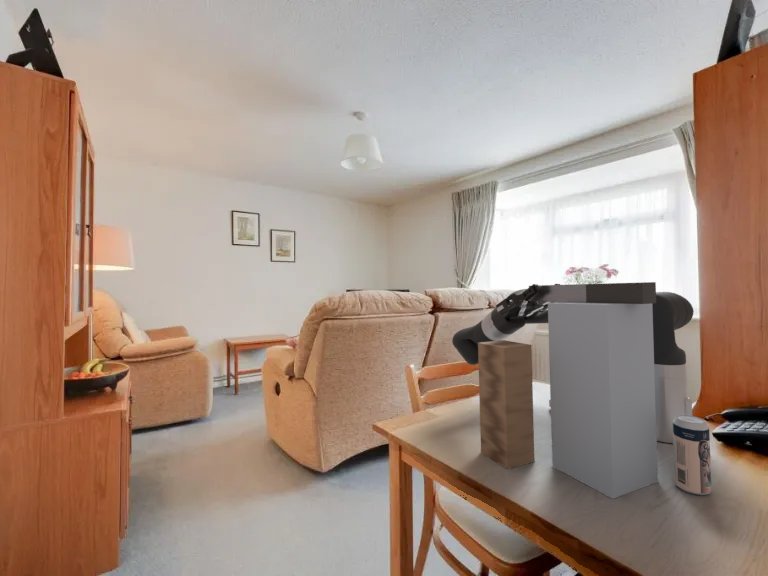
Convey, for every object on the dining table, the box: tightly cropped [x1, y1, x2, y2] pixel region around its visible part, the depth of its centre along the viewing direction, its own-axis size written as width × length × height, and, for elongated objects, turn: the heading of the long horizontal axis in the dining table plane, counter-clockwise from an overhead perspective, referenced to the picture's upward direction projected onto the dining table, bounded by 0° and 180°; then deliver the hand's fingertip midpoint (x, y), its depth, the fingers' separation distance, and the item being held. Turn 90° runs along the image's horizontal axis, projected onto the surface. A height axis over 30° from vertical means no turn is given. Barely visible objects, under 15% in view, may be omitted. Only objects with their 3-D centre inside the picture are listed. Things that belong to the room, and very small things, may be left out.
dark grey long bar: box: [524, 281, 657, 304], centre depth 70 cm, size 26×4×4 cm, turn 23°
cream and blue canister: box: [672, 415, 712, 496], centre depth 61 cm, size 5×5×12 cm
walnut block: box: [478, 339, 536, 470], centre depth 74 cm, size 8×7×24 cm
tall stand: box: [547, 302, 659, 500], centre depth 66 cm, size 12×12×32 cm
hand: (549, 287), depth 77 cm, fingers open, 6 cm apart
